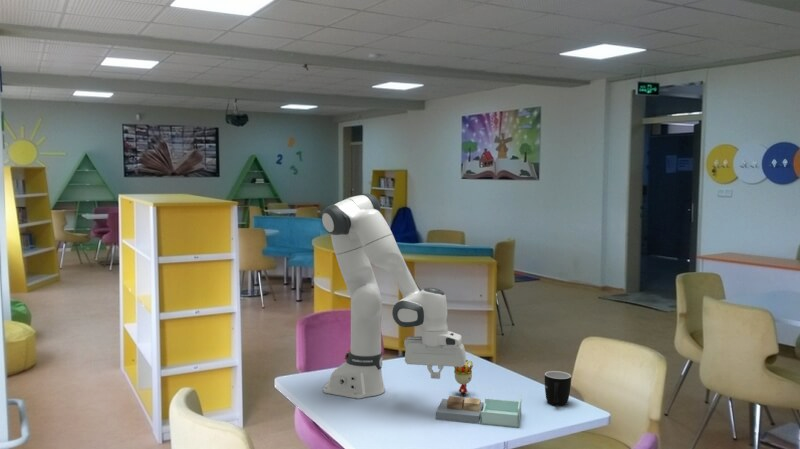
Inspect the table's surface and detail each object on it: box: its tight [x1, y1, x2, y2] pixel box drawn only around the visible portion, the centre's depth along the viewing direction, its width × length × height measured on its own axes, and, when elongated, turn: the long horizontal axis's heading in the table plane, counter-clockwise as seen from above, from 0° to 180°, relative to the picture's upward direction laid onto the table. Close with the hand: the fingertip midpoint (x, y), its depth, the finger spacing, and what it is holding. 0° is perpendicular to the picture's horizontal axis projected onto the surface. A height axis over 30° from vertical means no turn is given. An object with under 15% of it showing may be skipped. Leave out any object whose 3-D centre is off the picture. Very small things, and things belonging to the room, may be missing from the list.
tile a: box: [464, 397, 482, 412], centre depth 212 cm, size 5×5×2 cm
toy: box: [453, 358, 474, 397], centre depth 233 cm, size 7×7×15 cm
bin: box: [479, 395, 522, 429], centre depth 210 cm, size 12×13×6 cm
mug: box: [544, 370, 572, 407], centre depth 224 cm, size 12×9×10 cm
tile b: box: [447, 395, 465, 410], centre depth 214 cm, size 5×5×2 cm
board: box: [435, 398, 485, 425], centre depth 214 cm, size 14×13×2 cm
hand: (435, 378), depth 215 cm, fingers closed
